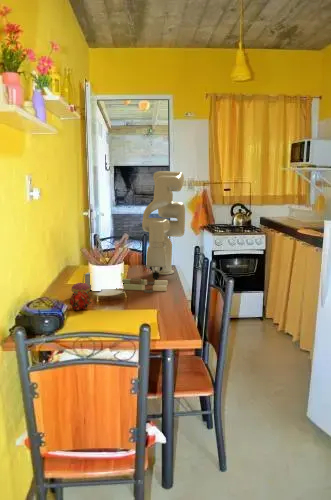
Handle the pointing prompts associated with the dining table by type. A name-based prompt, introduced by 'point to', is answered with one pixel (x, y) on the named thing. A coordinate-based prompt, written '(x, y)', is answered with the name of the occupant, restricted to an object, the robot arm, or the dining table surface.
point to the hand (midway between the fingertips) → (156, 279)
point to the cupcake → (80, 286)
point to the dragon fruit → (80, 300)
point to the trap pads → (149, 290)
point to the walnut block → (135, 281)
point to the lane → (156, 286)
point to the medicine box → (87, 279)
